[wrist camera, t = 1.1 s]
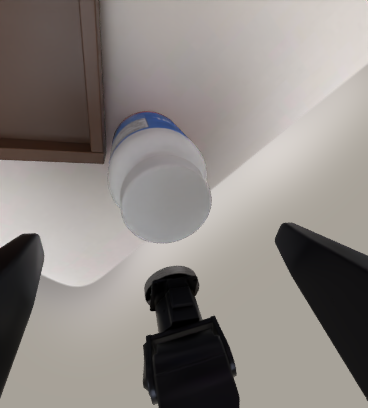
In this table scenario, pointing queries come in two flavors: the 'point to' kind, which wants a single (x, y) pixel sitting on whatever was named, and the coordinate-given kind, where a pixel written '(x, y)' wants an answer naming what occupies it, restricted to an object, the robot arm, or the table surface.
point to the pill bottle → (158, 179)
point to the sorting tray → (51, 81)
